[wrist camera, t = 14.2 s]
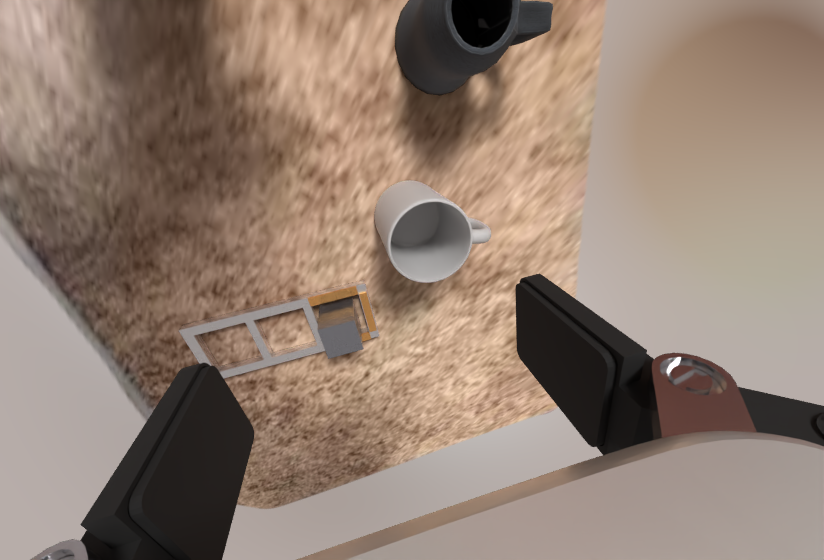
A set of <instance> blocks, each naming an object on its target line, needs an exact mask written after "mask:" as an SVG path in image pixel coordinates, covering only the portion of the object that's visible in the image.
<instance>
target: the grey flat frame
mask: <svg viewBox="0 0 824 560" xmlns="http://www.w3.org/2000/svg"><path fill="white" fill-rule="evenodd" d="M354 295H359V298H360V302H361V305H362V309H363V312H364V316H365V319H366V322H367V326H368V327H366V328H362V329H361V333H362V341H366V340H370V339H371V338H374V337H378V336H379V332H378V328H377V324H376V321H375V317H374V313H373V310H372V306H371V302H370V299H369V295H368V291H367V288H366V284H365V280H360V281H356V282H352V283H348V284H344V285H340V286H336V287H332V288H328V289H324V290H320V291H316V292H312V293H308V294H304V295H300V296H296V297H292V298H288V299H284V300H280V301H276V302H272V303H268V304H264V305H260V306H256V307H252V308H248V309H244V310H240V311H236V312H232V313H228V314H224V315H220V316H216V317H212V318H208V319H204V320H200V321H196V322H192V323H189V324H185V325H182V326H181V328H180V329H179V332H180V334H181V335H182V337H183V338H184V340H185V341H186V343H187V345H188V346H189V348H190V349H191V351H192V352H193V354H194V356H195V357H196V359H197V360H198V362H199V363H207V364H209V365H210V366H215V367H216V368H217V369H218V370H219V372H220V374H221V375H222V377H223V379H224V378H227V377H231V376H235V375H238V374H242V373H246V372H249V371H253V370H257V369H260V368H264V367H268V366H271V365H275V364H279V363H282V362H286V361H290V360H293V359H297V358H301V357H304V356H308V355H312V354H315V353H319V352H323V351H325V349H324V346H323V343H322V341H321V338H320V336H319V333H318V330H317V329H318V318H317V315H316V313H315V310H314V307H313V306H315V305H319V304H323V303H326V302H330V301H334V300H338V299H342V298H346V297H350V296H354ZM300 308H303V310H304V312H305V315H306V317H307V320H308V322H309V325H310V327H311V330H312V332H313V335H314V337H315V340H316V341H313V342H310V343H306V344H302V345H299V346H295V347H291V348H287V349H284V350H280V351H276V352H273V351H272V349H271V346H270V344H269V342H268V340H267V338H266V336H265V334H264V332H263V330H262V328H261V326H260V324H259V322H258V320H257V319H261V318H265V317H269V316H273V315H276V314H280V313H284V312H288V311H292V310H296V309H300ZM241 323H246V325H247V327H248V329H249V331H250V333H251V335H252V337H253V339H254V341H255V343H256V345H257V347H258V349H259V351H260V353H261V356H257V357H254V358H250V359H246V360H243V361H239V362H235V363H231V364H228V365H224V366H220V367H219V365H218V363H217V362H216V360H215V359H214V357H213V355H212V354H211V352H210V350H209V349H208V347H207V345H206V344H205V342H204V340H203V339H202V337H201V335H200V334H202V333H206V332H210V331H214V330H218V329H222V328H225V327H229V326H233V325H237V324H241Z"/></svg>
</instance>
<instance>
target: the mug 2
mask: <svg viewBox="0 0 824 560" xmlns="http://www.w3.org/2000/svg"><path fill="white" fill-rule="evenodd" d="M552 10H553V4H551V3H549V2H540V1H521V0H409V1H408V2H407V4H406V5H405V7H404V8H403V10H402V11H401V13H400V16H399V20H398V23H397V26H396V32H395V49H396V54H397V59H398V63H399V65H400V67H401V69H402V71H403V73H404V75H405V77H406V78H407V79H408V80H409V81H410V82H411V83H412V84H413V85H414V86H415V88H417V89H419V90H421V91H423V92H425V93H427V94H433V95H443V94H447V93H451V92H453V91H455V90H456V89H457V88H459V87H460V86H462V85H463V84H464V83H465V82H466V80H467V79H468V78H469V76H473V75H475V74H478V73H481V72H483V71H485V70H487V69H488V68H490V67H491V66H492V65H494V64H495V63H497V62H498V60H499V59H500V58H501V56H502V55H503V54H504V53H505V51H506V50H507V49H508V47H509V46H512V45H516V44H520V43H523V42H525V41H528V40H530V39H532V38H535V37H537V36H539V35H541V34H544V33H546V32H548V31H550V28H551V15H552Z"/></svg>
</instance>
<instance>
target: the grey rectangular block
mask: <svg viewBox="0 0 824 560" xmlns="http://www.w3.org/2000/svg"><path fill="white" fill-rule="evenodd" d="M317 330H318V333H319V336H320V338H321V341H322V343H323V346H324V349H325V351H326V354H327V356H328V359H329V358H333V357H337V356H340V355H344V354H347V353H351V352H355V351H358V350H362V349H363V341H362V333H361V325H360V321H359V317H358V314H357V311H356V307H355V304H354V301H353V298H352V297H349V298H345V299H341V300H337V301H333V302H329V303H325V304H321V305H320V307H319V318H318V329H317Z"/></svg>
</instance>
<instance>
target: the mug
mask: <svg viewBox="0 0 824 560" xmlns="http://www.w3.org/2000/svg"><path fill="white" fill-rule="evenodd" d="M374 218H375V225H376V228H377V231H378V233H379V235H380V237H381V239H382V242H383V244H384V247H385V249H386V252H387V254H388V257H389V259H390V261H391V263H392V264H393V266H394V267H395V269H396V270H397V271H398V272H399V273H400V274H402V275H403V276H404V277H406V278H408V279H410V280H412V281H416V282H421V283H431V282H437V281H440V280H443V279H445V278H447V277H449V276H451V275H452V274H453V273H455V272H456V271H457V270H458V269H459V268H460V267H461V266H462V265H463V264H464V262H465V261H466V259H467V257H468V255H469V253H470V250H471V246H472V244H478V243H485V242H487V241H489V239H490V237H491V230H490V228H489V227H488V226H487V225H486V224H484V223H483V222H481V221H479V220H476V219H473V218H469V217H467V216H466V214H465V213H464V211H463V210H462V209H461V208H460V207H458V206H457V205H456V204H455V203H453V202H452V201H450V200H448V199H447V198H445V197H444V196H442V195H441V194H439V193H437V192H436V191H434V190H433V189H432V188H430V187H429V186H427V185H426V184H424V183H421V182H418V181H412V180H407V181H401V182H398V183H396V184H393V185H392V186H390V187H389V188H388V189H386V190H385V191H384V192H383V194H382V195H381V196H380V198H379V200H378V202H377V204H376V207H375V214H374Z"/></svg>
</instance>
